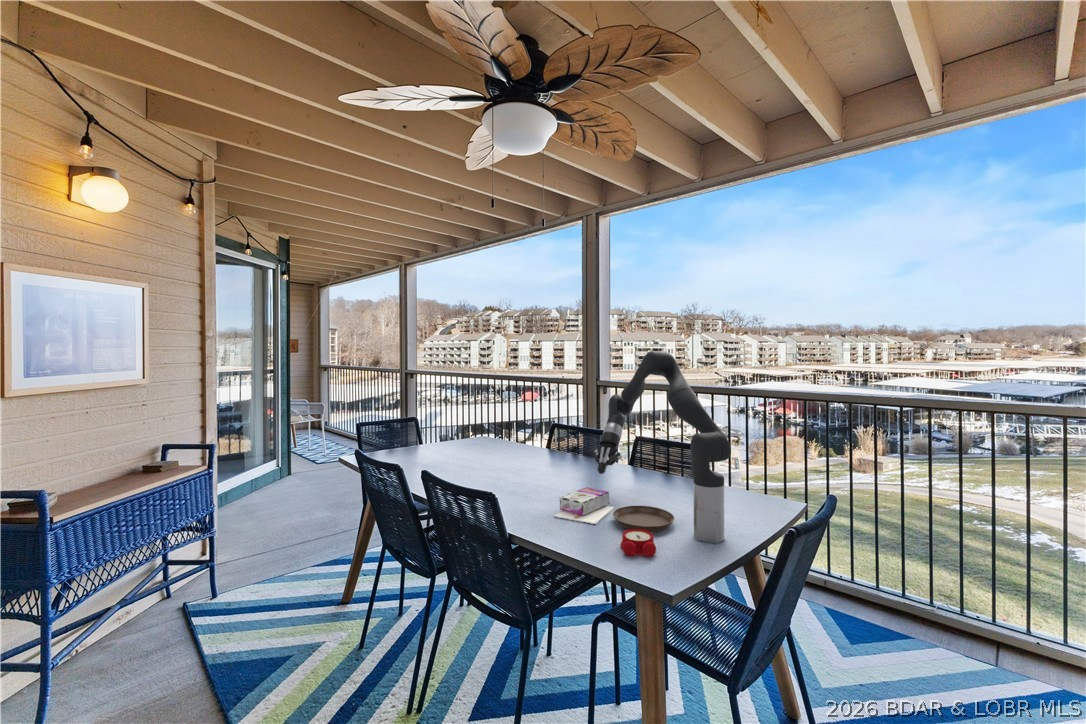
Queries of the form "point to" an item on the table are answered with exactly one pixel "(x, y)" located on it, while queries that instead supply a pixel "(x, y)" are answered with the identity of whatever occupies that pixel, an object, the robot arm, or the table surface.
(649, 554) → the alarm clock
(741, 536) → the table surface
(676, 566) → the table surface
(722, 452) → the robot arm
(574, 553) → the table surface
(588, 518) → the card
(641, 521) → the plant saucer
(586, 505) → the candy bar box
